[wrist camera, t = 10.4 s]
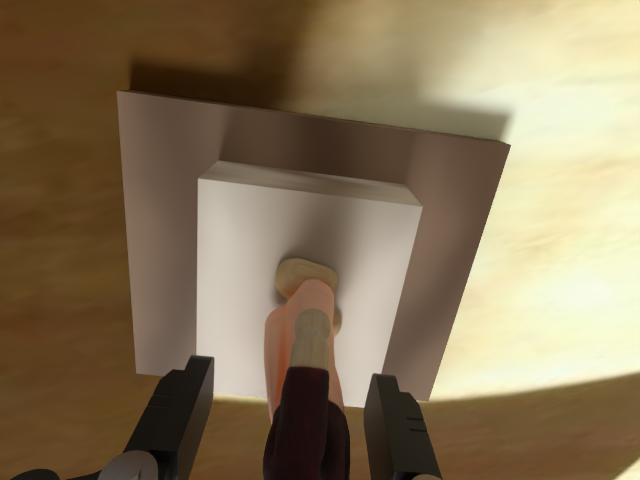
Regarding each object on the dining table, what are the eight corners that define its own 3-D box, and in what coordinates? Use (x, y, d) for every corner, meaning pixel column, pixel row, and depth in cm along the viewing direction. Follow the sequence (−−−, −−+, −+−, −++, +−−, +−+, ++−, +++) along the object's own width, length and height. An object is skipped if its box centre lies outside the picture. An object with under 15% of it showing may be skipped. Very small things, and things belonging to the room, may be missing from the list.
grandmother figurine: (242, 246, 16) (52, 717, 5) (332, 226, 16) (375, 682, 4) (289, 381, 19) (248, 860, 8) (365, 367, 19) (441, 847, 7)
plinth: (144, 359, 24) (108, 420, 20) (128, 89, 18) (71, 94, 14) (423, 386, 25) (444, 449, 21) (499, 141, 19) (551, 159, 15)
